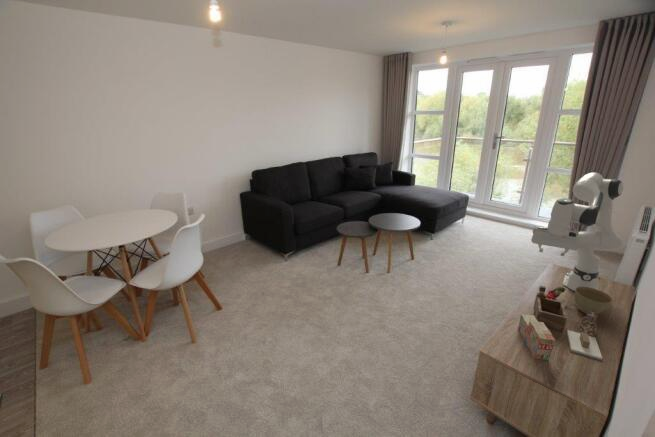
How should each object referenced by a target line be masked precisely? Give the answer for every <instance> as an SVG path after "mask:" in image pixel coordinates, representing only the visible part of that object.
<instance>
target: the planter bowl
mask: <svg viewBox="0 0 655 437" xmlns="http://www.w3.org/2000/svg"><path fill="white" fill-rule="evenodd" d="M597 289H598V288H597ZM597 289H594V288H589V287H577V288H576V289H575V291H574V300H575V303H576V305H577V309H579V310H580V312H583V313H584V314H586V315H587V314H588V312H590V311H591V310H594V312H595V313H596V314H597V316H598V315H599V314H600V313H603V312H605V311H606V310H607V309H608V308H609V307H610V306H611V304H612V303H613V297H612V296H610V295H609V294H608V293H606V292H605V291H602V290H600V289H598V290H597Z"/></svg>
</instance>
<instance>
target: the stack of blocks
mask: <svg viewBox="0 0 655 437" xmlns="http://www.w3.org/2000/svg"><path fill="white" fill-rule="evenodd" d="M517 330H518V331H519V333H520V335H521V337H522V339H523V340H524V343H525V344H526V345H527V347H528V349H529V351H530V353H531V355H532V357H533V358H534V359H536V360H544V361H550V359H551V354H552V351H553V349H554V346H555V343H556V339H555V337H554V335H553V334H552V332H551V330H550V329H548V328H547V327H546V326H545V324H544V323H543V322H538V321H537V320H536V318H535V317H534V315H533V314H532V315H531V314H522V313H521V314H520V317H519V322H518V327H517Z"/></svg>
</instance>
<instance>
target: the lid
mask: <svg viewBox="0 0 655 437" xmlns="http://www.w3.org/2000/svg"><path fill="white" fill-rule="evenodd" d="M566 331H567V335H568V340H569V344H570V348H571V351H574V352H577V353H581V354H584V355H587V356H591V357H594V358H598V359H601V360H603V356H602V353H601V350H600V347H599V344H598V341H597V339H596V337H595V336H592V335H588V334H586V333H582V332H581V331H580V332H576V331H572V330H569V329H567V330H566ZM567 335H566V336H567ZM568 340H567V341H568ZM569 344H568V345H569Z"/></svg>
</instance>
